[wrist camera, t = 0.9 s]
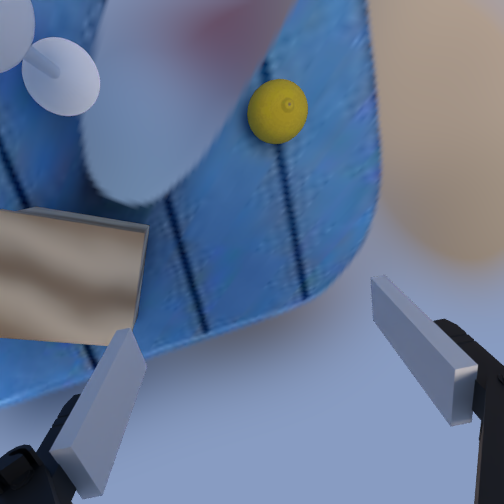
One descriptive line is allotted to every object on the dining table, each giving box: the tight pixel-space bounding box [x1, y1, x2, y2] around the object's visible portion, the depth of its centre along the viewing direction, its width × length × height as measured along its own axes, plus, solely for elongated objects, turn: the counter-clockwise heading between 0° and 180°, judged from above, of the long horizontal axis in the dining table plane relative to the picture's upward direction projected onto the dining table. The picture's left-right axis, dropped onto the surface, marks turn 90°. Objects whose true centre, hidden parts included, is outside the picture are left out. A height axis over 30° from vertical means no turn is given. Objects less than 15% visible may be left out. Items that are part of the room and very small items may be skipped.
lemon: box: [247, 79, 308, 144], centre depth 29 cm, size 6×6×8 cm
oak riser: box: [0, 207, 150, 346], centre depth 30 cm, size 12×12×6 cm
